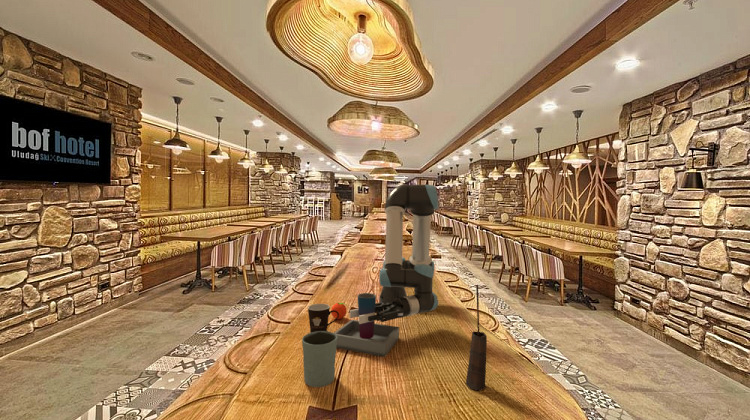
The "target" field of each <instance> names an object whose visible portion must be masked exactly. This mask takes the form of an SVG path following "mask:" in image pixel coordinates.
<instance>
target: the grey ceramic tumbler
mask: <svg viewBox="0 0 750 420" xmlns="http://www.w3.org/2000/svg"><path fill="white" fill-rule="evenodd" d="M301 338H302V339H301V341H302V342H301V343H302V344H301V346H302V355H303V358H302V362H303V380H304V382H305V384H306V385H307V386H309V387H311V388H322V387H327V386H329V385H331V384H332V383H333V382H334V379H335V376H336V375H335V373H336V365H335V364H336V354H337V348H336V346H337V335H336V334H335V333H334V332H331V331H328V330H327V331H317V332H312V333H311V332H309V333H307V334H305V335H304V336H302V337H301Z"/></svg>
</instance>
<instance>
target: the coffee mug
mask: <svg viewBox="0 0 750 420" xmlns="http://www.w3.org/2000/svg"><path fill="white" fill-rule="evenodd" d="M330 307H331V306H330V305H329V304H326V303H314V304H310V305H308V307H307V311H308V320H309V321H308V323H309V329H310V332H309V333H312V332H317V331H328V327H329V326H330V325H332V324H333V323H335V322H336V321H337V320H339V319H338V317H339V313H338V312H337V311H335V310H332V311H331V308H330ZM331 312H336V313H337V315H338V316H337V318H334V320H332V321H330V322H329V317H330V315H331Z"/></svg>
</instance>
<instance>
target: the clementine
mask: <svg viewBox="0 0 750 420" xmlns="http://www.w3.org/2000/svg"><path fill="white" fill-rule="evenodd" d="M347 307H348V306H347ZM347 307H346V304H345V303H344V302H337V303H335V304H333V305H332V306H331V308H330V311H332V310H335V311H337V312H338V313H339V317H338V319H337V320H342V319H343V318H344V317H345V316H347V315H346V314H347ZM348 308H349V307H348ZM330 315H332V317H333V318H334V319H336V318H337V316H338V315H337V313H336V312H331V313H330Z"/></svg>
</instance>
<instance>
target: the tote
mask: <svg viewBox="0 0 750 420" xmlns="http://www.w3.org/2000/svg"><path fill="white" fill-rule="evenodd" d="M333 333H335V334H336V335H337V346H336V349H340V350H341V349H342V350H345V351H351V352H357V353H360V354H361V353H362V354H365V355H366V354H367V355H370V356H376V357H379V358H385V357H387V355H388V354H389V352H390V351H391V350H392V349H393V347H394V346H395V345H396V343H397V342H398V341H399V339H400V327H399V326H395V325H388V324H383V323H382V324H381V323H375V322H374V333H373V337H372V338H370V339H363V338H361V337H360V333H359V320H356V319H351V320H349V321H348V322H347V323H345V324H344V325H342V326H341V327H340V328H339V329H337V330H335V331H334V332H333Z"/></svg>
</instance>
